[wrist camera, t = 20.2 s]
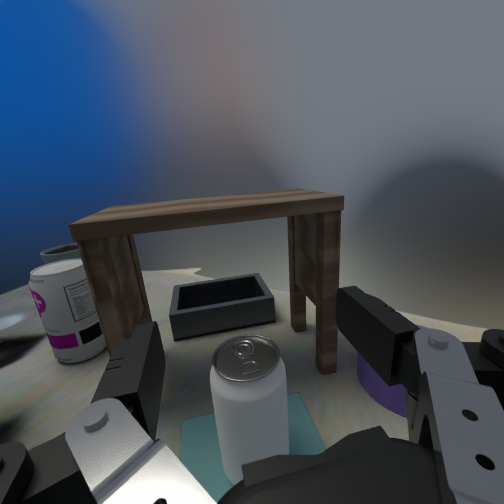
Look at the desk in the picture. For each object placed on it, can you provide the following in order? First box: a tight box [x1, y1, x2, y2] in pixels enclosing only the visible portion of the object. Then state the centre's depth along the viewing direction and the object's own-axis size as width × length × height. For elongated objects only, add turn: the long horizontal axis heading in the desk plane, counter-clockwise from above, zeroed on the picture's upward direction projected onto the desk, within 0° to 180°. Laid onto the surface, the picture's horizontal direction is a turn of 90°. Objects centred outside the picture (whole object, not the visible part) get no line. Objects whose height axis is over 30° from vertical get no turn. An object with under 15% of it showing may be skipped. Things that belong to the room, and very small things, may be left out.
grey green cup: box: [40, 243, 81, 265], centre depth 65 cm, size 10×10×12 cm
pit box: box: [169, 273, 275, 341], centre depth 51 cm, size 12×18×5 cm, turn 102°
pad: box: [180, 392, 326, 503], centre depth 25 cm, size 12×14×1 cm
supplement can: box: [28, 259, 107, 363], centre depth 42 cm, size 8×8×15 cm
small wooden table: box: [69, 189, 344, 375], centre depth 35 cm, size 13×26×24 cm, turn 102°
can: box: [210, 334, 289, 485], centre depth 23 cm, size 6×6×12 cm
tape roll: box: [357, 325, 426, 418], centre depth 32 cm, size 12×12×5 cm
